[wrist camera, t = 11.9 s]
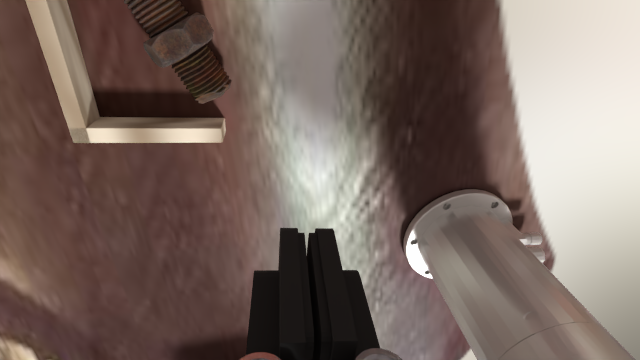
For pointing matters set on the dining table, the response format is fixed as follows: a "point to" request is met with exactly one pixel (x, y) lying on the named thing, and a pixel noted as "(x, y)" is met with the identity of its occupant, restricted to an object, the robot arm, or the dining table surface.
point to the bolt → (182, 46)
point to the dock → (79, 99)
